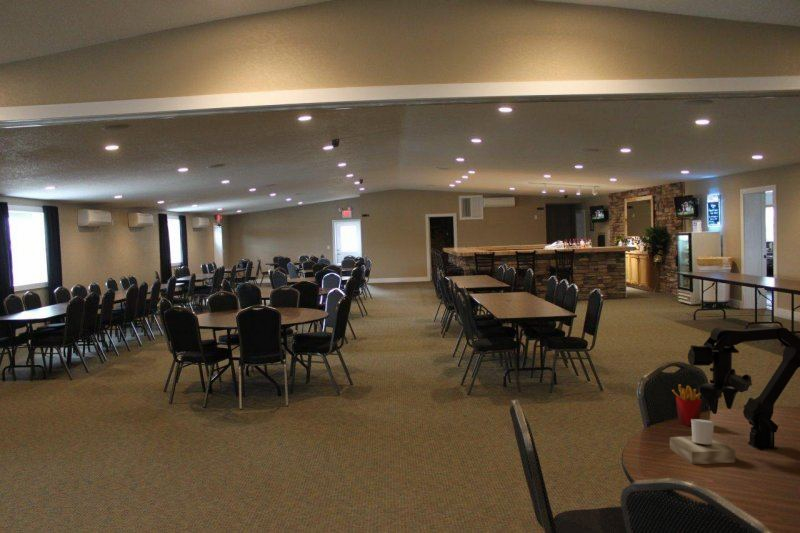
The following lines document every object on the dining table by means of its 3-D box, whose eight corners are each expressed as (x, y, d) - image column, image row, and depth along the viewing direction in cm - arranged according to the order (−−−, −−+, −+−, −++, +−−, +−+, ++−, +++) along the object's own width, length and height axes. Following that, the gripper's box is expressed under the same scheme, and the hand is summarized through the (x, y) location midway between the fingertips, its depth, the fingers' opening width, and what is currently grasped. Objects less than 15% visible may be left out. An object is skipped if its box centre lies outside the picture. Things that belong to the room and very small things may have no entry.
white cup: (718, 445, 194) (718, 423, 194) (697, 444, 194) (697, 421, 194) (706, 440, 201) (707, 419, 201) (686, 439, 201) (687, 417, 201)
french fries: (689, 420, 233) (689, 382, 233) (705, 426, 225) (705, 387, 225) (670, 422, 231) (670, 384, 230) (685, 429, 223) (686, 389, 222)
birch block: (710, 448, 205) (710, 435, 205) (735, 464, 191) (735, 450, 191) (669, 450, 204) (669, 437, 204) (692, 466, 190) (692, 452, 190)
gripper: (731, 373, 192) (731, 422, 193) (761, 365, 202) (760, 411, 203) (697, 367, 201) (697, 414, 202) (727, 360, 211) (727, 404, 212)
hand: (721, 411), depth 205 cm, fingers open, 9 cm apart
